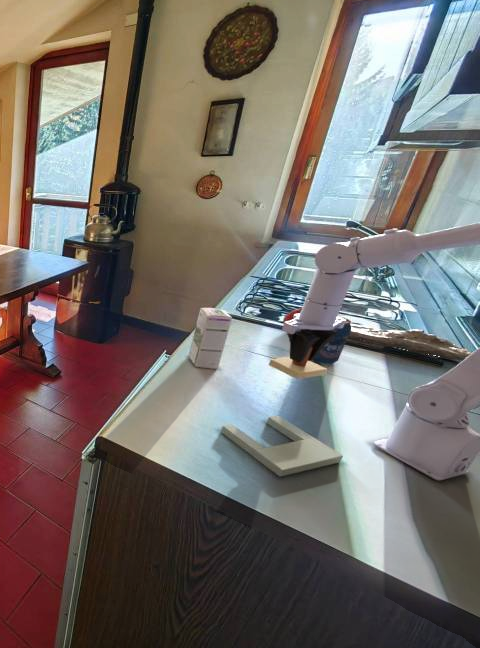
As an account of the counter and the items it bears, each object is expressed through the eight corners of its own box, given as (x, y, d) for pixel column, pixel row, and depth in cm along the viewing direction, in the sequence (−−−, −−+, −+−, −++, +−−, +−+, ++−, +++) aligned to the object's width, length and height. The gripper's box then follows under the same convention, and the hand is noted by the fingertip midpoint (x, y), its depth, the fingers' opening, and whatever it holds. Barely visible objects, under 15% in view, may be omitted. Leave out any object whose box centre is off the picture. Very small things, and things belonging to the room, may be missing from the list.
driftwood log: (303, 325, 130) (300, 335, 124) (307, 310, 128) (304, 320, 122) (464, 353, 108) (471, 368, 102) (473, 336, 106) (481, 350, 100)
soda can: (318, 365, 102) (335, 324, 97) (296, 353, 108) (312, 313, 103) (343, 365, 102) (362, 324, 97) (320, 353, 108) (337, 313, 104)
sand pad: (325, 375, 84) (335, 350, 82) (296, 379, 82) (306, 354, 80) (295, 361, 90) (304, 337, 87) (268, 364, 88) (277, 341, 86)
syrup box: (218, 369, 99) (234, 317, 94) (193, 366, 100) (207, 314, 95) (210, 359, 104) (225, 308, 99) (186, 356, 105) (199, 306, 100)
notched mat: (339, 462, 69) (343, 455, 69) (279, 476, 66) (282, 470, 65) (275, 421, 80) (277, 415, 79) (220, 431, 76) (222, 425, 76)
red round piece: (275, 329, 123) (284, 306, 120) (286, 326, 126) (294, 303, 122) (296, 337, 118) (305, 312, 115) (306, 333, 121) (316, 310, 118)
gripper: (328, 292, 85) (306, 348, 90) (277, 297, 82) (257, 354, 87) (366, 303, 79) (340, 362, 84) (312, 309, 75) (288, 370, 80)
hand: (300, 359), depth 85 cm, fingers closed on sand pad, 2 cm apart
